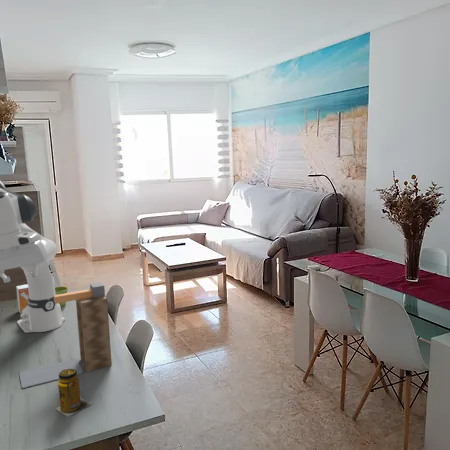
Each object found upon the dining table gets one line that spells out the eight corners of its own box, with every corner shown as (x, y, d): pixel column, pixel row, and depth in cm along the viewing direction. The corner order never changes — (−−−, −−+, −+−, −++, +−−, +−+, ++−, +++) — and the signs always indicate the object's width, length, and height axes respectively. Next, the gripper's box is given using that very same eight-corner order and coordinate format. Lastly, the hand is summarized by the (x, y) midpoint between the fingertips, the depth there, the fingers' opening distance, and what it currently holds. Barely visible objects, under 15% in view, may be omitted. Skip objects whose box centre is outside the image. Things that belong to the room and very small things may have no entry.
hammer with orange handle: (56, 304, 154) (54, 293, 154) (53, 300, 159) (52, 289, 158) (104, 296, 162) (104, 285, 162) (101, 292, 167) (100, 282, 166)
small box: (20, 314, 216) (17, 289, 214) (18, 311, 221) (15, 285, 219) (38, 311, 221) (35, 286, 218) (35, 307, 226) (33, 282, 224)
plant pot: (51, 309, 222) (49, 293, 220) (48, 304, 230) (47, 288, 229) (70, 306, 226) (69, 290, 225) (67, 301, 234) (66, 285, 233)
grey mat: (22, 388, 149) (21, 387, 149) (19, 373, 160) (18, 372, 160) (82, 373, 159) (82, 372, 159) (76, 359, 169) (76, 358, 169)
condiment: (55, 408, 138) (51, 373, 136) (79, 396, 144) (76, 362, 142) (67, 417, 133) (64, 380, 131) (92, 404, 140) (89, 369, 137)
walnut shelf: (86, 371, 160) (81, 303, 155) (80, 359, 170) (75, 294, 165) (111, 365, 164) (107, 298, 160) (104, 353, 174) (99, 290, 169)
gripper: (-27, 249, 144) (-14, 288, 147) (36, 236, 144) (47, 276, 147) (-18, 244, 150) (-5, 282, 153) (42, 232, 150) (53, 270, 153)
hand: (21, 279), depth 150 cm, fingers open, 8 cm apart
